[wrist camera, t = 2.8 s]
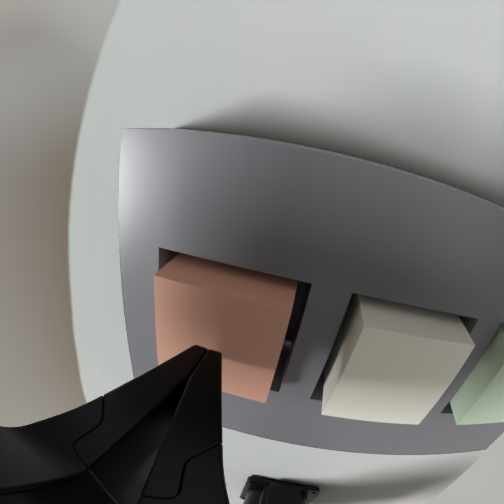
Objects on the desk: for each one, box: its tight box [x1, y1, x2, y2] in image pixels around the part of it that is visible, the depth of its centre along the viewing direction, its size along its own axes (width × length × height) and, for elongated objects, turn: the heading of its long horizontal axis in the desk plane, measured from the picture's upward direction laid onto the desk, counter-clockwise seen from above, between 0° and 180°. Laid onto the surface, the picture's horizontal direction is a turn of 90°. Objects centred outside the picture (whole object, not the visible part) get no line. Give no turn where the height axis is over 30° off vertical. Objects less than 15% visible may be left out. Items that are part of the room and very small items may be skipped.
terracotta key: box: [154, 253, 298, 403], centre depth 10 cm, size 4×4×2 cm
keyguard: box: [119, 128, 504, 455], centre depth 10 cm, size 12×20×4 cm, turn 82°
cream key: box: [321, 293, 475, 425], centre depth 9 cm, size 4×4×2 cm
